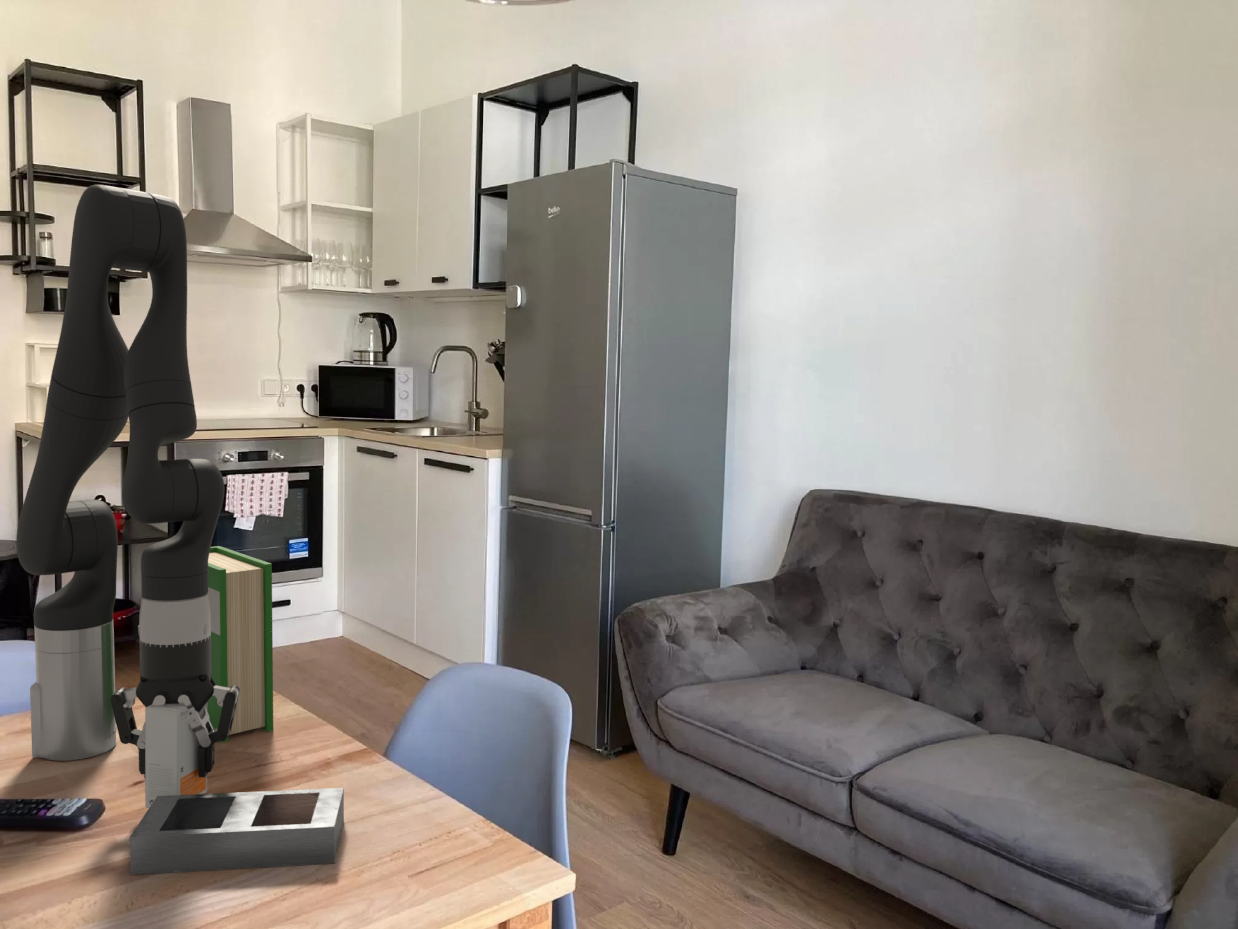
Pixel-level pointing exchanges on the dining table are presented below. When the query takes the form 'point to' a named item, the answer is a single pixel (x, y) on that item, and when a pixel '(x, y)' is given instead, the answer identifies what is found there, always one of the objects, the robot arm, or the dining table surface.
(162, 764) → the skincare box
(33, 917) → the dining table surface
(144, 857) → the holder
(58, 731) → the robot arm
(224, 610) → the hardback book
